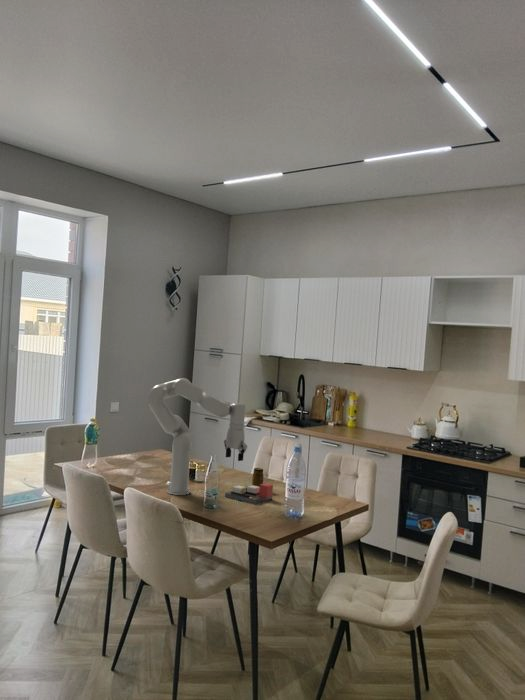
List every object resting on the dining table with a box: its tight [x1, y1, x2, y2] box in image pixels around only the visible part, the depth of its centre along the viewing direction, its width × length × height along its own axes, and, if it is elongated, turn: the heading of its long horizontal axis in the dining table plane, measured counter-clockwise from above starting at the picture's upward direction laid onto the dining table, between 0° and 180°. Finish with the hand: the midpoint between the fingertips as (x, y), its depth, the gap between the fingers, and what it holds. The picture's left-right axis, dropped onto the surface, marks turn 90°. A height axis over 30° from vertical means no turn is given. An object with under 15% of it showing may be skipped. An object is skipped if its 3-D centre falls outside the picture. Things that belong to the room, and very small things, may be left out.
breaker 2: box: [246, 484, 260, 494], centre depth 301 cm, size 5×5×3 cm
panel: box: [224, 487, 273, 506], centre depth 298 cm, size 20×15×3 cm
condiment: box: [251, 467, 264, 487], centre depth 316 cm, size 7×8×12 cm
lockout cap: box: [259, 482, 274, 498], centre depth 297 cm, size 5×5×6 cm
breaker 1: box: [232, 485, 247, 494], centre depth 299 cm, size 5×5×3 cm
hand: (234, 458), depth 298 cm, fingers open, 9 cm apart
